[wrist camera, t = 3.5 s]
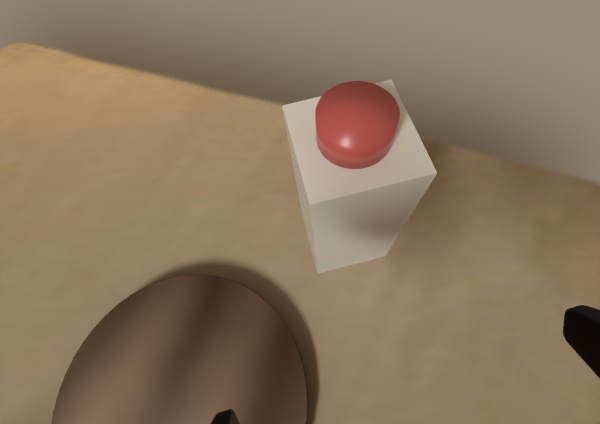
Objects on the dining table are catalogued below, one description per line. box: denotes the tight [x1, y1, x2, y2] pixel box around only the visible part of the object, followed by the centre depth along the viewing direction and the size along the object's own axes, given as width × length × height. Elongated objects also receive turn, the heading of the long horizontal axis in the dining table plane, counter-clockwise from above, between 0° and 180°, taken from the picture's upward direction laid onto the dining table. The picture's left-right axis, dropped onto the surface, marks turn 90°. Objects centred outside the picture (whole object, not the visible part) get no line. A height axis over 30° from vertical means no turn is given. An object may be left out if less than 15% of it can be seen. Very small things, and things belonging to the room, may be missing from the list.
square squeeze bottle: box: [282, 80, 437, 273], centre depth 18 cm, size 5×5×14 cm
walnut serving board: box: [51, 275, 308, 424], centre depth 20 cm, size 16×16×1 cm
